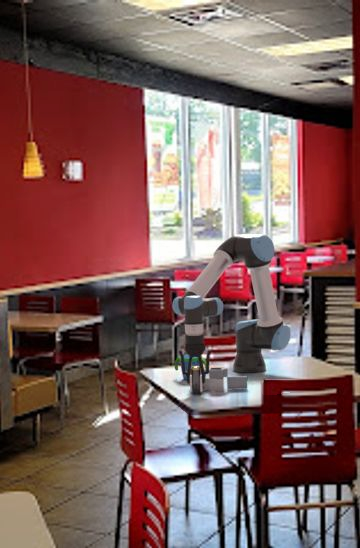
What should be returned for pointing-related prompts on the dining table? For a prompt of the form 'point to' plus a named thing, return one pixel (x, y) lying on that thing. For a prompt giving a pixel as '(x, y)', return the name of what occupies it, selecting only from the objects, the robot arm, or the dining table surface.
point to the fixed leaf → (213, 384)
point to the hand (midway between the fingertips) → (196, 391)
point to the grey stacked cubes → (228, 378)
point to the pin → (195, 380)
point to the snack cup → (186, 357)
